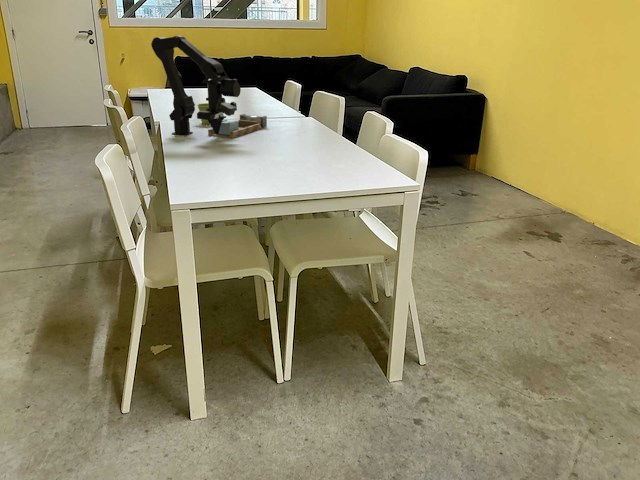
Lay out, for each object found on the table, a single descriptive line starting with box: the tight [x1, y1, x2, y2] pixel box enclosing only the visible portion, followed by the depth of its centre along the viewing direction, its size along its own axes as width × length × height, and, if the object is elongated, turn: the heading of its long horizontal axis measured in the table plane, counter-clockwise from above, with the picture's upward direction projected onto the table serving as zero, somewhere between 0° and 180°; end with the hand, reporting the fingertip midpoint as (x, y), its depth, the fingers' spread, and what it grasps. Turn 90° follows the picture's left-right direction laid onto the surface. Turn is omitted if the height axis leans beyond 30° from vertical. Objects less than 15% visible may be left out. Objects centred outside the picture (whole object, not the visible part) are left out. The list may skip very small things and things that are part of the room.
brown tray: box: [207, 119, 262, 139], centre depth 232 cm, size 24×12×3 cm, turn 157°
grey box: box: [219, 119, 239, 135], centre depth 226 cm, size 7×7×5 cm
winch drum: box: [239, 113, 268, 129], centre depth 245 cm, size 4×12×5 cm, turn 67°
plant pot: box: [196, 102, 210, 125], centre depth 249 cm, size 9×9×9 cm
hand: (216, 134), depth 219 cm, fingers closed
